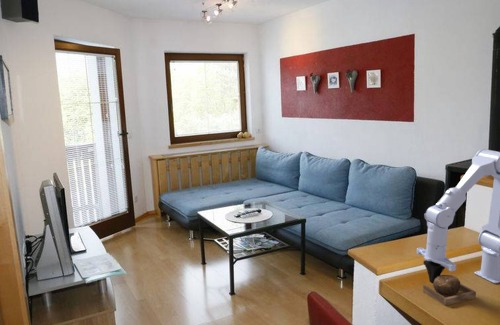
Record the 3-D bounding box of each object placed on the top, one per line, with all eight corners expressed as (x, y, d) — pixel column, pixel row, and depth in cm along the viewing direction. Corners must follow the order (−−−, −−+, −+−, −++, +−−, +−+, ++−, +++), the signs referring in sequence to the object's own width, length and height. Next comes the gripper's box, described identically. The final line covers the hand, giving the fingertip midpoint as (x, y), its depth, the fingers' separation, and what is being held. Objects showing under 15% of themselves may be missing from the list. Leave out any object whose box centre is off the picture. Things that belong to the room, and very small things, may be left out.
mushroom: (460, 278, 127) (453, 266, 125) (468, 299, 121) (460, 286, 118) (435, 285, 130) (427, 274, 128) (441, 306, 124) (434, 294, 121)
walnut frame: (451, 284, 130) (452, 278, 130) (475, 297, 122) (476, 291, 121) (423, 291, 126) (423, 285, 125) (445, 305, 118) (445, 299, 117)
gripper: (410, 237, 132) (408, 274, 135) (445, 254, 119) (441, 295, 121) (427, 234, 134) (424, 271, 137) (462, 250, 121) (459, 291, 124)
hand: (433, 282), depth 129 cm, fingers closed
